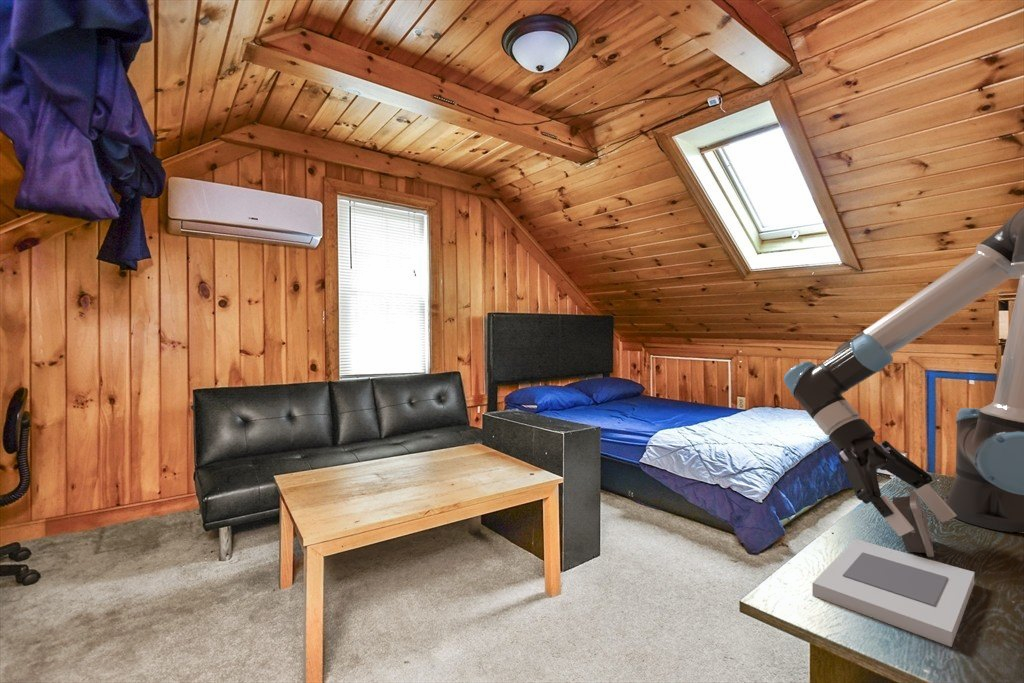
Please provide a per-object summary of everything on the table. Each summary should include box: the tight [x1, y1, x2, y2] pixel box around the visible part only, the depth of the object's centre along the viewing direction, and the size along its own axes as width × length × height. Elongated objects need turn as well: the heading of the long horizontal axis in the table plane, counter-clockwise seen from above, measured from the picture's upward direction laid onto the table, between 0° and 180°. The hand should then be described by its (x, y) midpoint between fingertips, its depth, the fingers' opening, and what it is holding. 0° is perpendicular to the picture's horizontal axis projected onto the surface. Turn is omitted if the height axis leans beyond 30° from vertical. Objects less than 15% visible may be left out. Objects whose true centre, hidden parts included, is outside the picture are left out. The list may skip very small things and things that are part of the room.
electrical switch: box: [892, 491, 935, 558], centre depth 90 cm, size 9×5×9 cm, turn 141°
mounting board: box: [811, 538, 975, 648], centre depth 76 cm, size 22×16×2 cm
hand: (929, 526), depth 88 cm, fingers open, 13 cm apart
